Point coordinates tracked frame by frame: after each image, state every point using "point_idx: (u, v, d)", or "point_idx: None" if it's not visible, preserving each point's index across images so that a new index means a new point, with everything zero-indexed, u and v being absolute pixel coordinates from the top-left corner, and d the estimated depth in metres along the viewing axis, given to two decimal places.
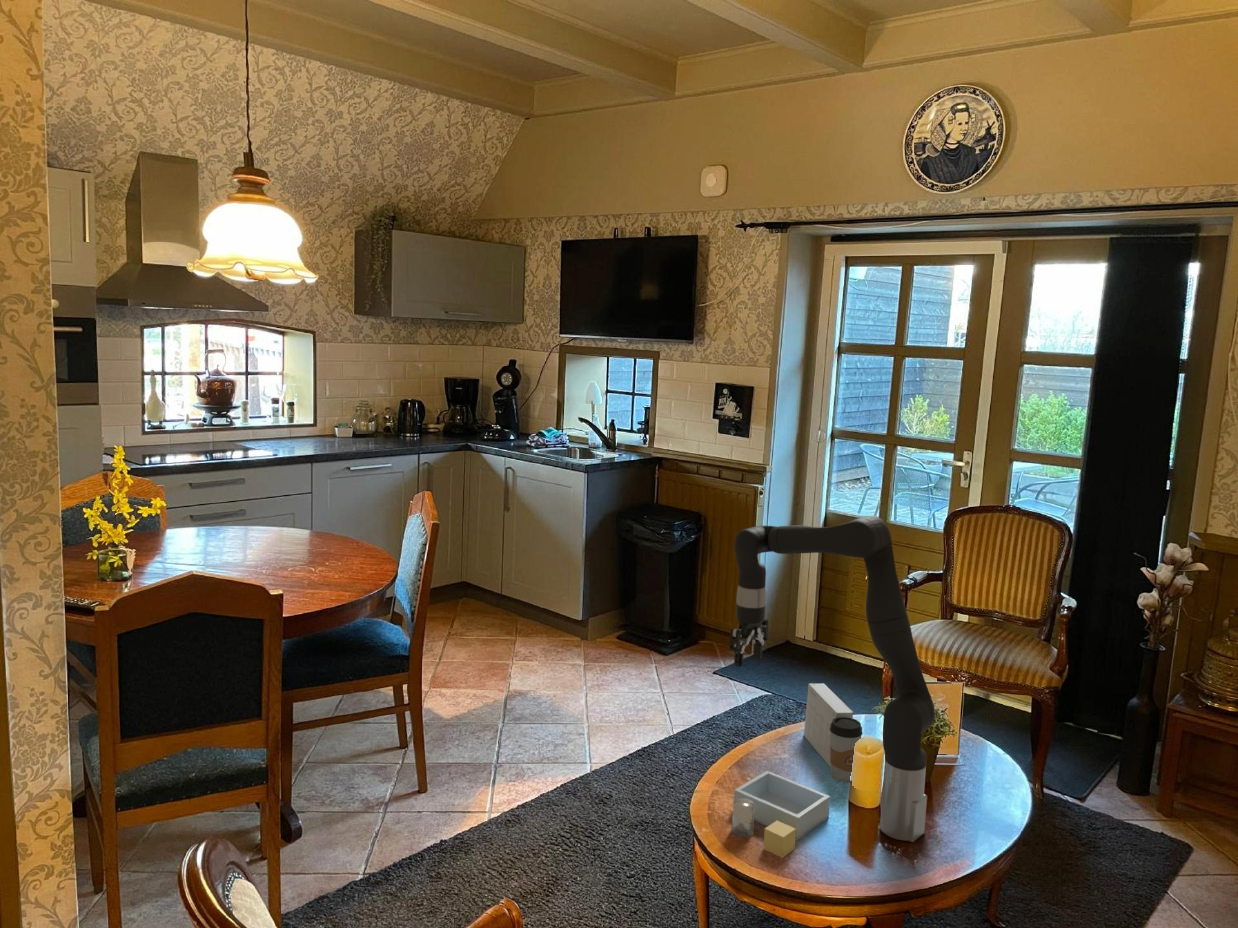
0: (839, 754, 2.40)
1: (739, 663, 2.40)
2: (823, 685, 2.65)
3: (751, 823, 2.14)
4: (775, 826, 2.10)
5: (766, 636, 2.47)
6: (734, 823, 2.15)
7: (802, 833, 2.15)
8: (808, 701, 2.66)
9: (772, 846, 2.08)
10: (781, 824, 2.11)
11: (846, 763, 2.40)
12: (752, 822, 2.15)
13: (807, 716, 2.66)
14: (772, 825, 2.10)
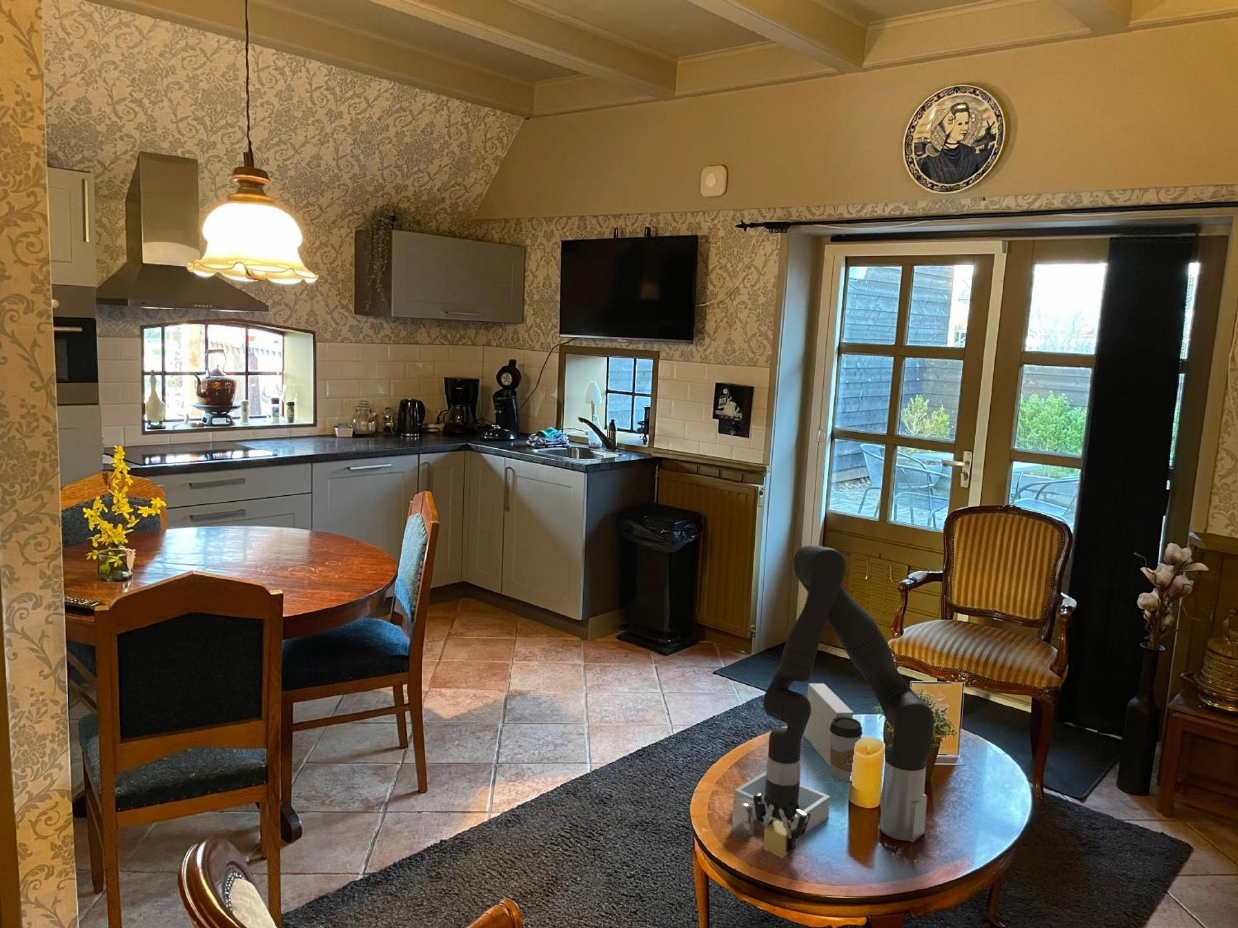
0: (839, 754, 2.40)
1: None
2: (823, 685, 2.65)
3: (751, 822, 2.14)
4: (775, 826, 2.10)
5: None
6: (734, 823, 2.15)
7: None
8: None
9: (772, 846, 2.08)
10: (781, 824, 2.11)
11: (846, 763, 2.40)
12: (752, 822, 2.15)
13: None
14: (772, 825, 2.10)
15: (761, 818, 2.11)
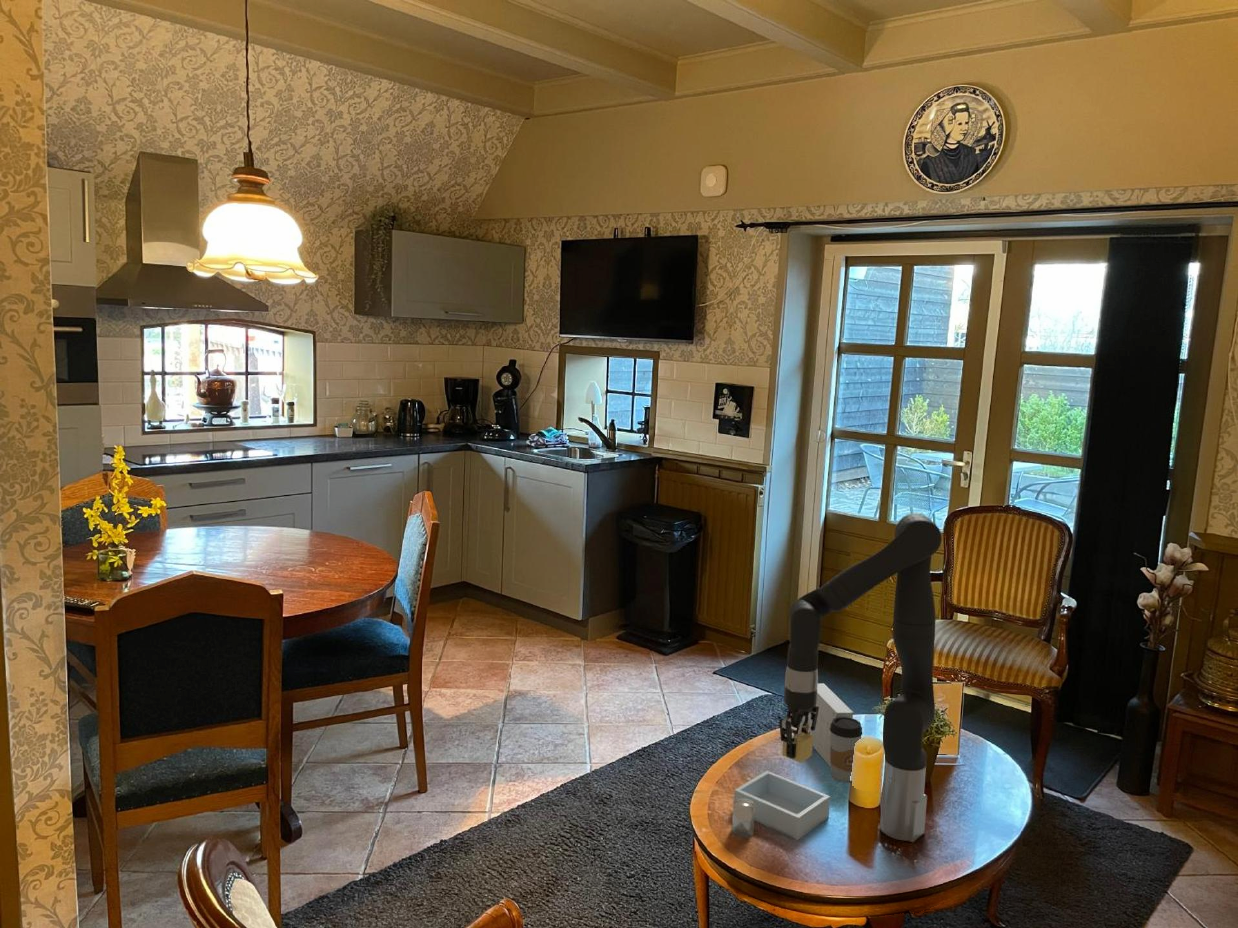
0: (839, 754, 2.40)
1: None
2: (823, 685, 2.65)
3: (751, 823, 2.14)
4: None
5: None
6: (734, 823, 2.15)
7: (802, 833, 2.15)
8: None
9: (806, 753, 2.18)
10: None
11: (846, 763, 2.40)
12: (752, 822, 2.15)
13: None
14: None
15: None
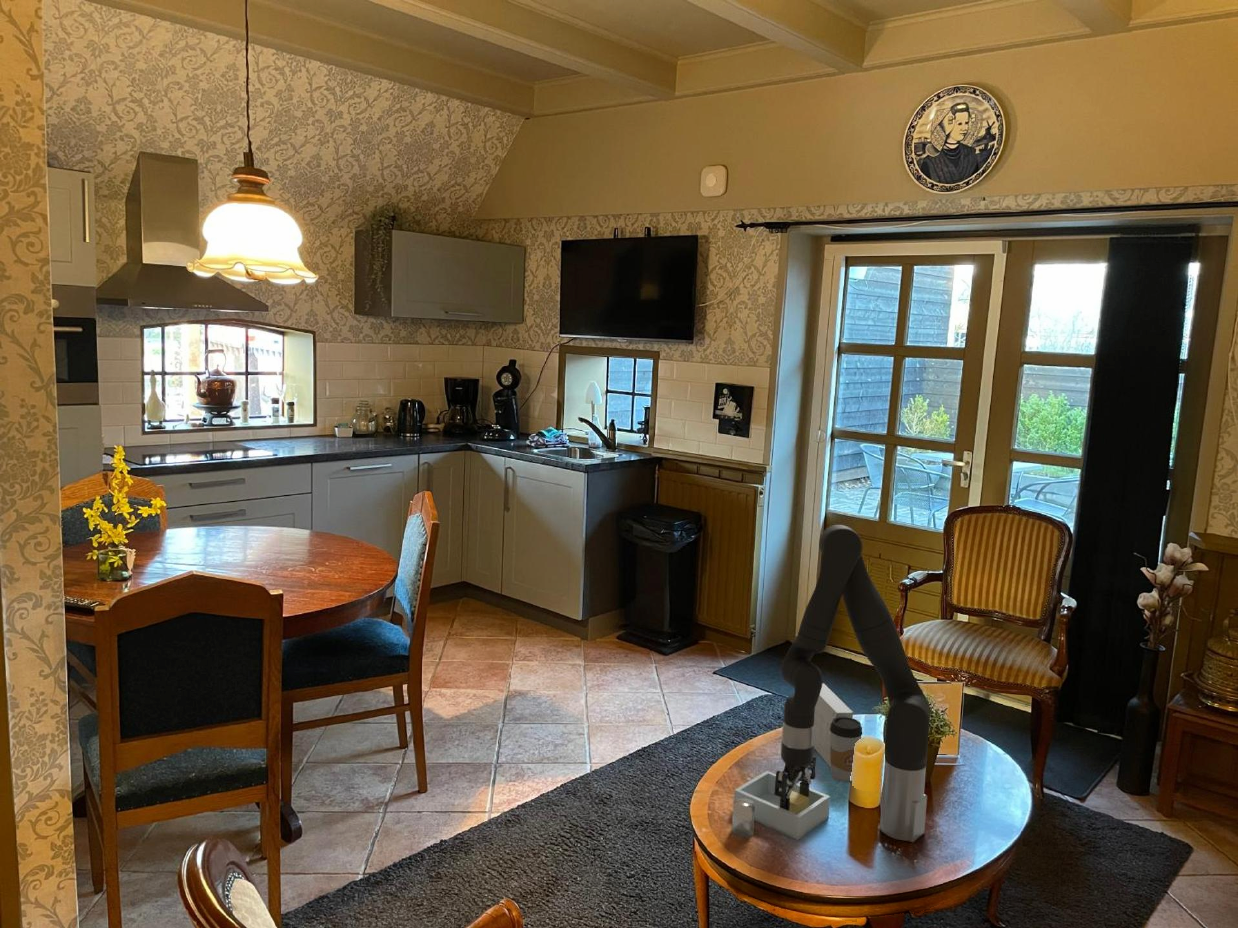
0: (839, 754, 2.40)
1: None
2: (823, 685, 2.65)
3: (751, 822, 2.14)
4: (791, 799, 2.21)
5: None
6: (734, 823, 2.15)
7: (802, 833, 2.15)
8: None
9: None
10: None
11: (846, 763, 2.40)
12: (752, 822, 2.15)
13: None
14: (791, 800, 2.20)
15: None
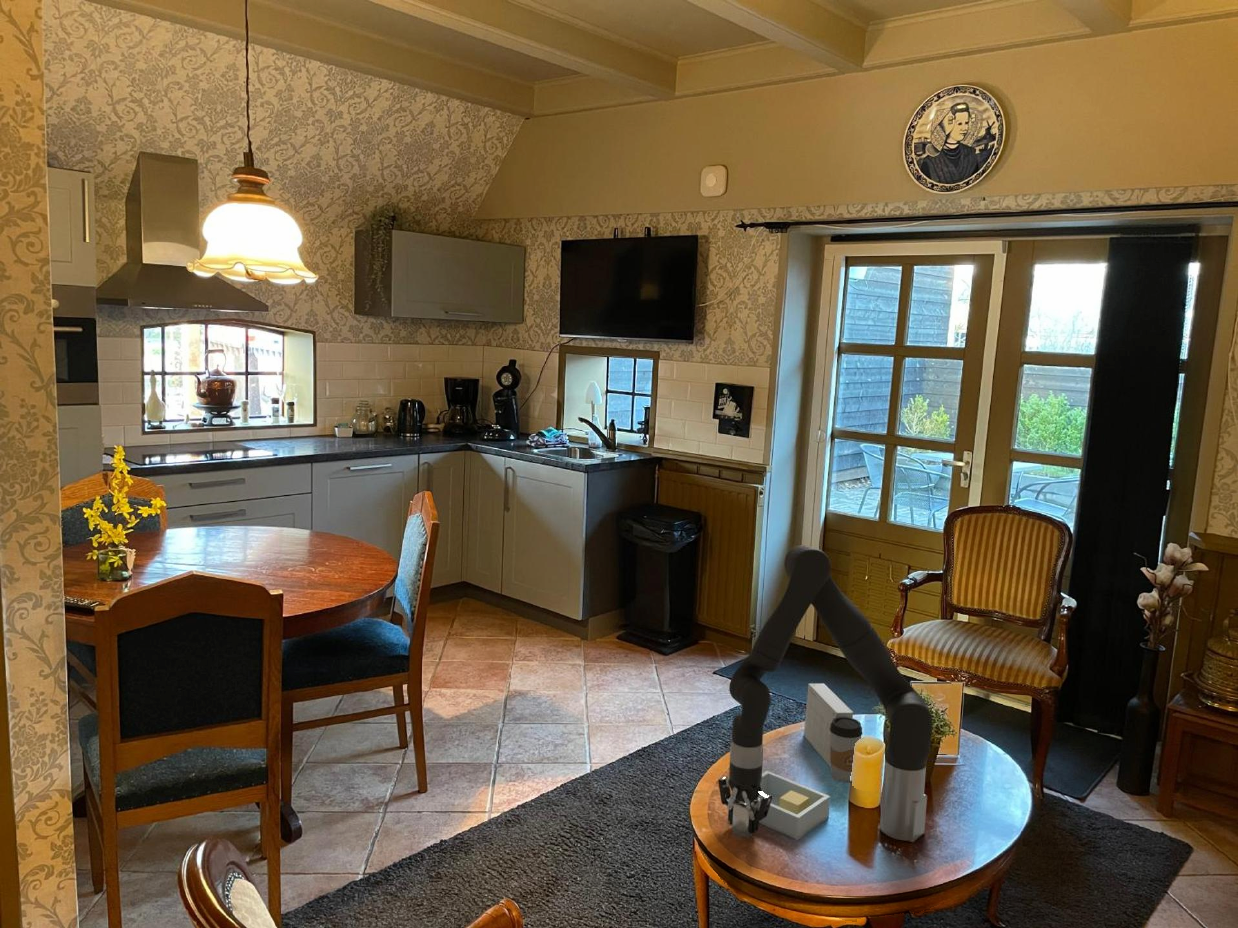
0: (839, 754, 2.40)
1: None
2: (823, 685, 2.65)
3: None
4: (791, 799, 2.21)
5: None
6: (734, 823, 2.15)
7: (802, 833, 2.15)
8: (808, 701, 2.66)
9: None
10: (786, 796, 2.22)
11: (846, 763, 2.40)
12: None
13: (807, 716, 2.66)
14: (791, 800, 2.20)
15: (726, 801, 2.18)
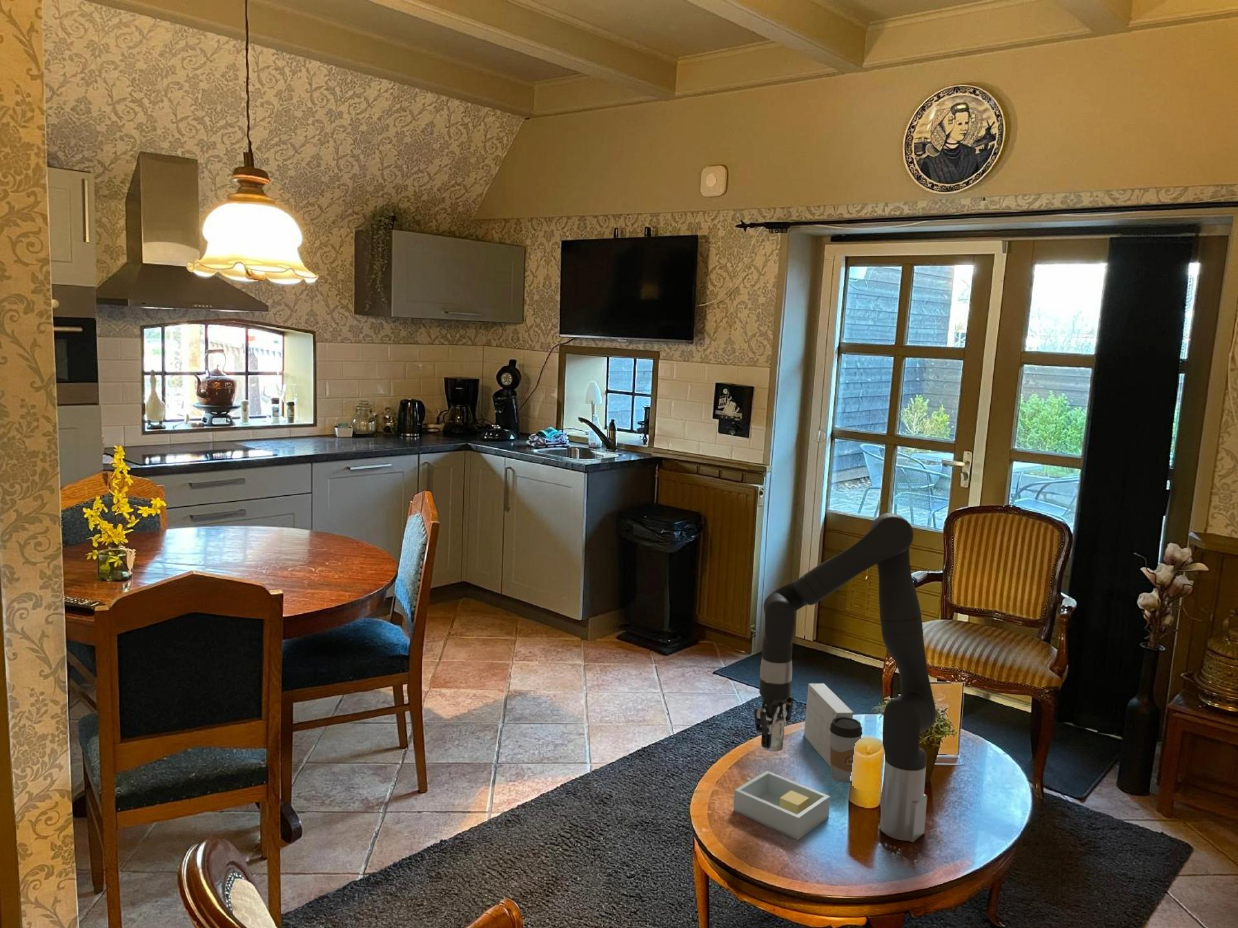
0: (839, 754, 2.40)
1: None
2: (823, 685, 2.65)
3: None
4: (791, 799, 2.21)
5: None
6: (779, 740, 2.22)
7: (802, 833, 2.15)
8: (808, 701, 2.66)
9: None
10: (786, 796, 2.22)
11: (846, 763, 2.40)
12: None
13: (807, 716, 2.66)
14: (791, 800, 2.20)
15: None
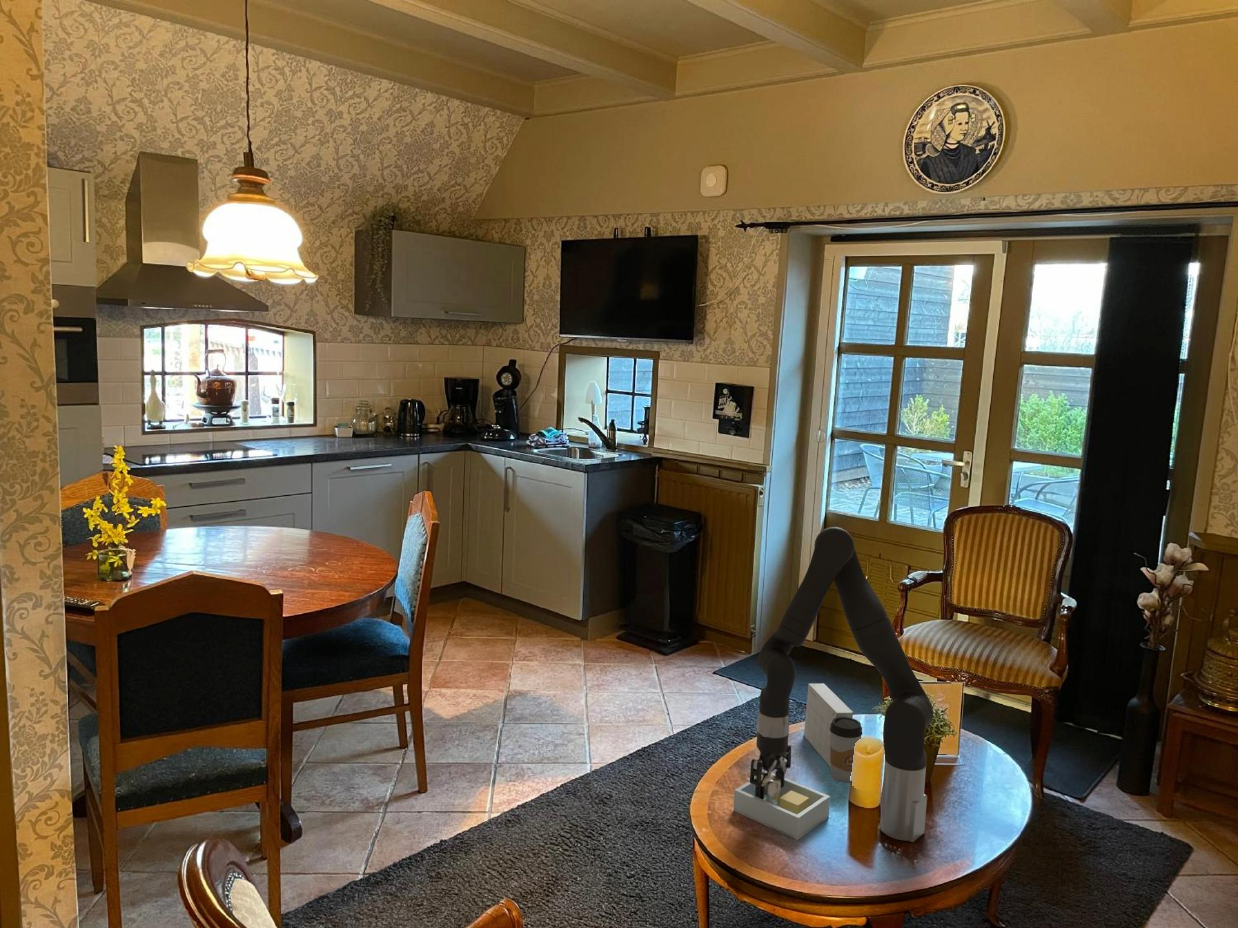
0: (839, 754, 2.40)
1: None
2: (823, 685, 2.65)
3: None
4: (791, 799, 2.21)
5: None
6: (775, 800, 2.24)
7: (802, 833, 2.15)
8: (808, 701, 2.66)
9: None
10: (786, 796, 2.22)
11: (846, 763, 2.40)
12: None
13: (807, 716, 2.66)
14: (791, 800, 2.20)
15: None
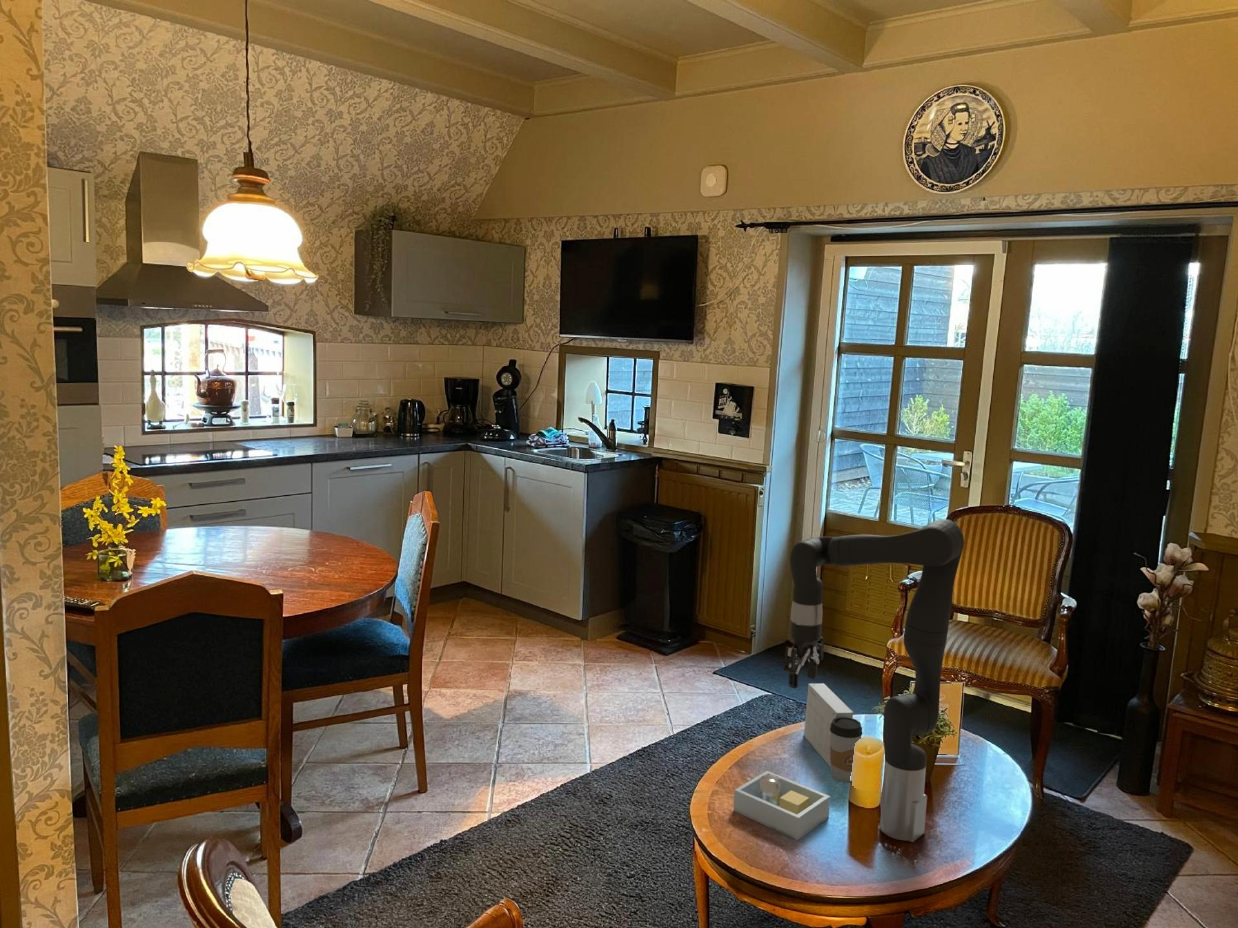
0: (839, 754, 2.40)
1: None
2: (823, 685, 2.65)
3: None
4: (791, 799, 2.21)
5: None
6: (776, 800, 2.24)
7: (802, 833, 2.15)
8: (808, 701, 2.66)
9: None
10: (786, 796, 2.22)
11: (846, 763, 2.40)
12: None
13: (807, 716, 2.66)
14: (791, 800, 2.20)
15: None
